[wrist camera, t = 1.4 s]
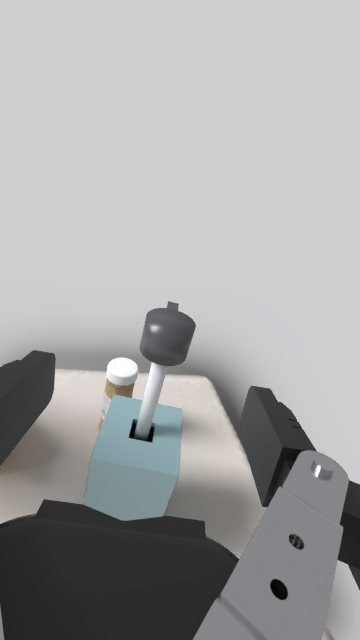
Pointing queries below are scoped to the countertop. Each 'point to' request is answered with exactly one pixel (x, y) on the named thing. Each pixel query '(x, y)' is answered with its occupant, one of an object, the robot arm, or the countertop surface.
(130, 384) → the sprinkles bottle
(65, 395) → the countertop surface
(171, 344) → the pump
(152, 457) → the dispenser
